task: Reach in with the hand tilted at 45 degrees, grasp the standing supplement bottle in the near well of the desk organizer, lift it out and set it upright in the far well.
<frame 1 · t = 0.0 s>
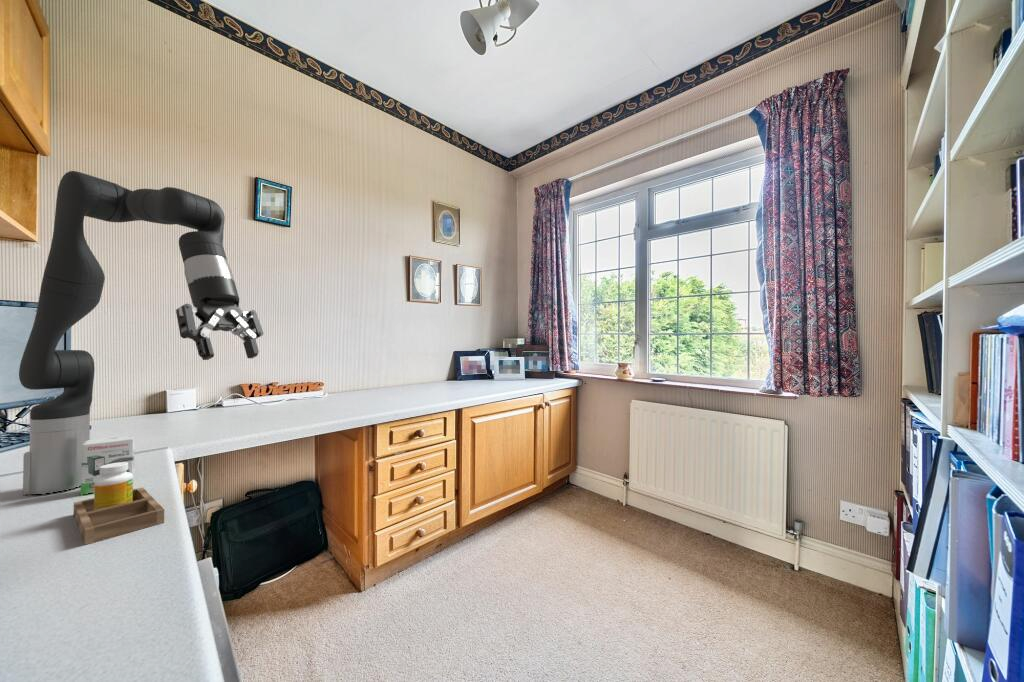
hand: (231, 357, 73), 31 cm above the table, tool tilted 20°, fingers open, 8 cm apart
organizer: (117, 518, 73), on the table
supplement bottle: (113, 513, 76), resting in organizer
ink box: (108, 489, 89), on the table
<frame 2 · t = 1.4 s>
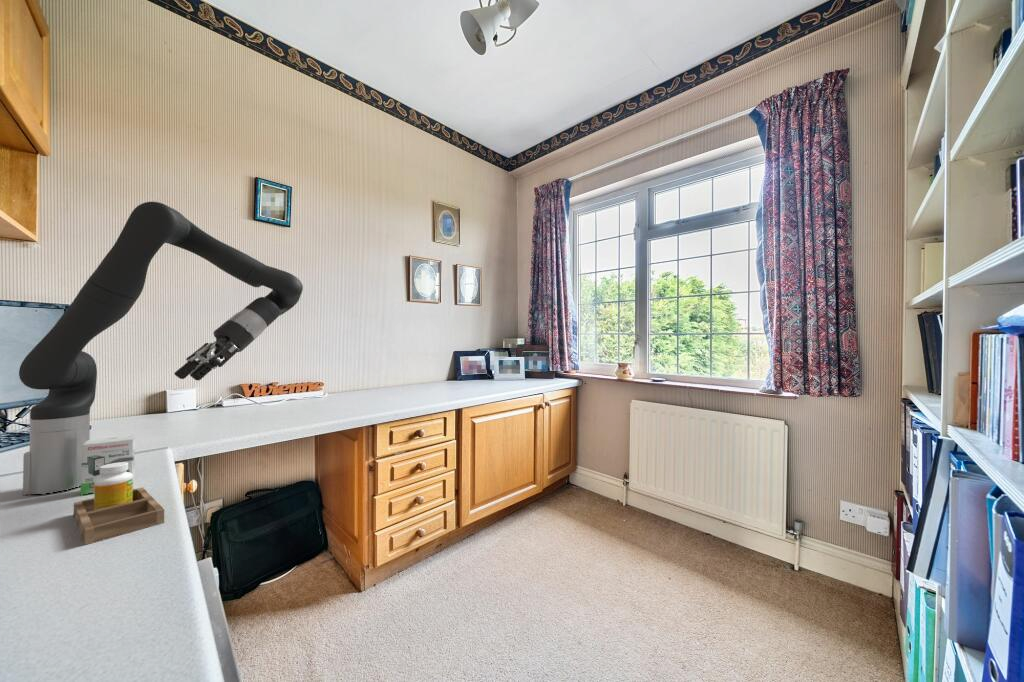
hand: (185, 377, 86), 27 cm above the table, tool tilted 45°, fingers open, 8 cm apart
nothing on the table moved.
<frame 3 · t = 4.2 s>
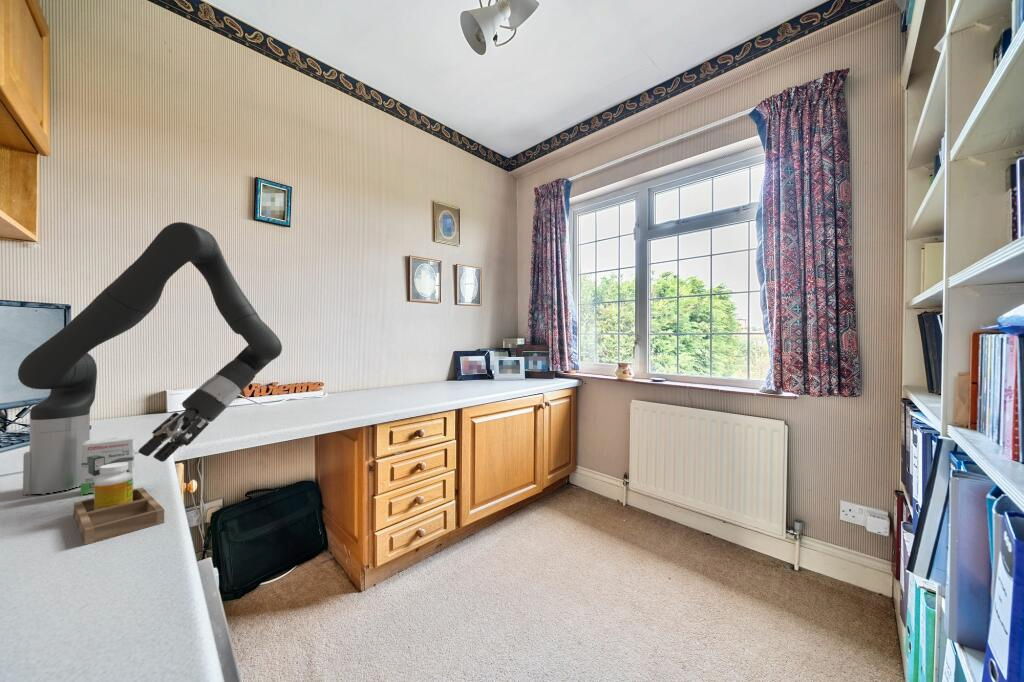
hand: (149, 456, 81), 10 cm above the table, tool tilted 45°, fingers open, 8 cm apart
nothing on the table moved.
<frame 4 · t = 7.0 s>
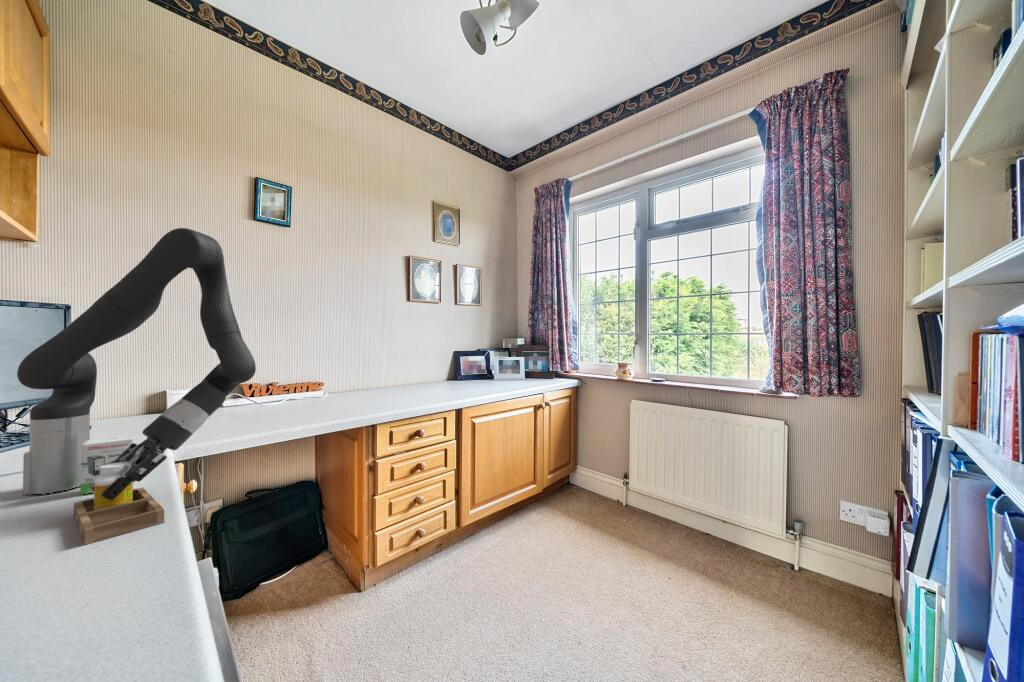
hand: (101, 494, 74), 4 cm above the table, tool tilted 45°, fingers closed on supplement bottle, 5 cm apart
supplement bottle: (113, 513, 76), resting in organizer, touching gripper
everything else where it was.
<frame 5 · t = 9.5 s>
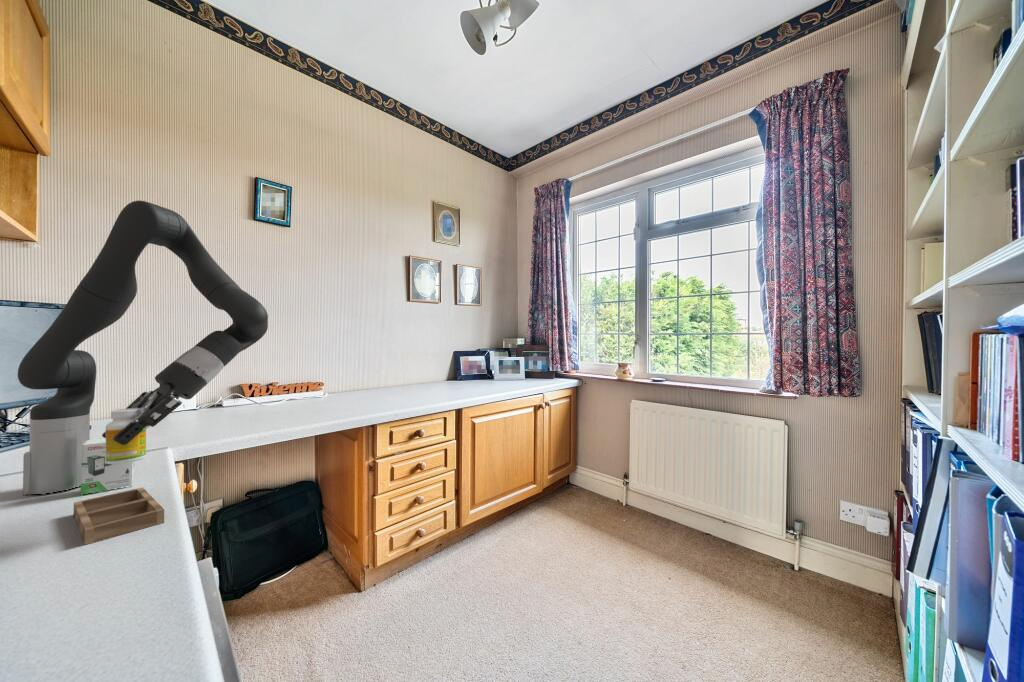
hand: (112, 440, 70), 16 cm above the table, tool tilted 45°, fingers closed on supplement bottle, 5 cm apart
supplement bottle: (126, 461, 71), point 12 cm above the table, touching gripper
everything else where it was.
when the fingers open (5 cm above the table, at t = 12.4 s): supplement bottle drops 1 cm, resting in organizer.
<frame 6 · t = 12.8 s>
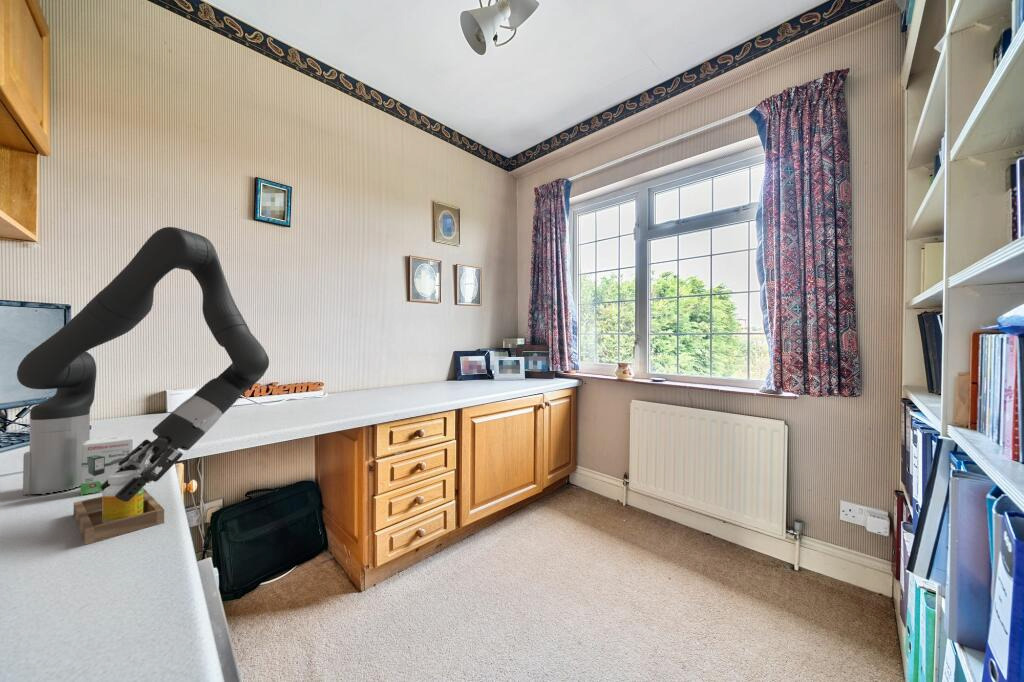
hand: (112, 495, 69), 6 cm above the table, tool tilted 45°, fingers open, 8 cm apart
supplement bottle: (123, 525, 71), resting in organizer
everything else where it was.
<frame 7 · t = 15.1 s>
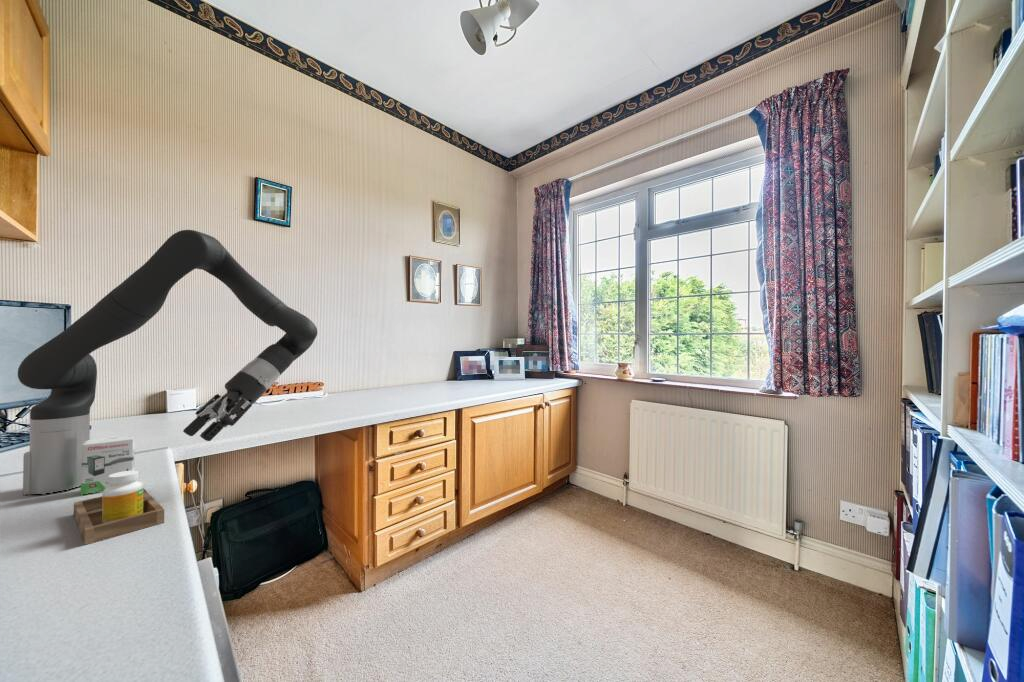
hand: (195, 436, 82), 14 cm above the table, tool tilted 45°, fingers open, 8 cm apart
nothing on the table moved.
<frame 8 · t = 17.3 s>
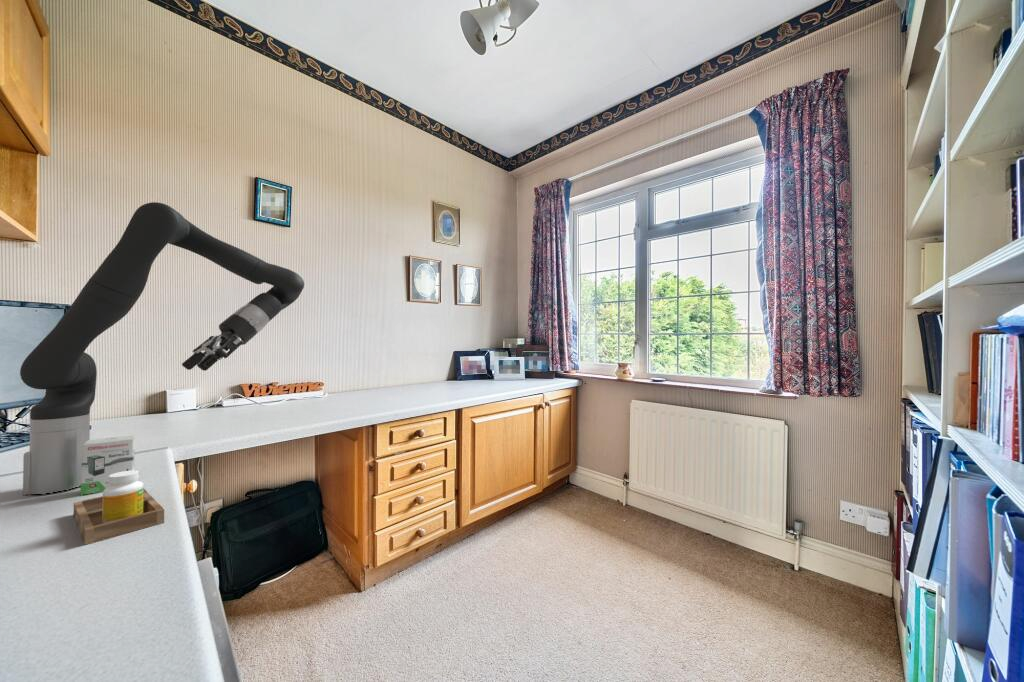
hand: (192, 367, 91), 29 cm above the table, tool tilted 45°, fingers open, 8 cm apart
nothing on the table moved.
at the end: supplement bottle 0.2 cm from the target spot, resting in organizer; supplement bottle tilted 0°; the gripper is holding nothing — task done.
